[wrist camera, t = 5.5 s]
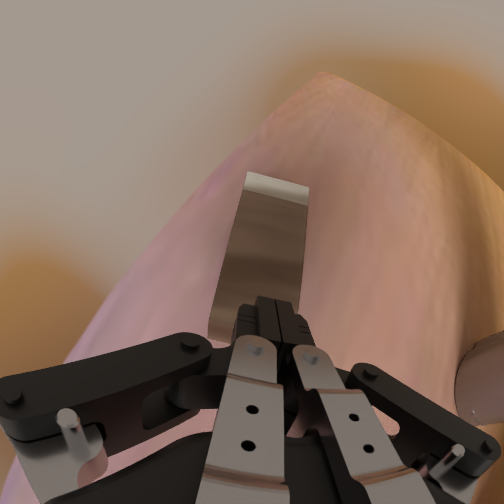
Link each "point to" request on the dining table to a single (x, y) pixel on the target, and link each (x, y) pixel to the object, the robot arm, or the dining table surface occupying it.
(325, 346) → the dining table surface
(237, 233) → the metal block
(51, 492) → the robot arm
